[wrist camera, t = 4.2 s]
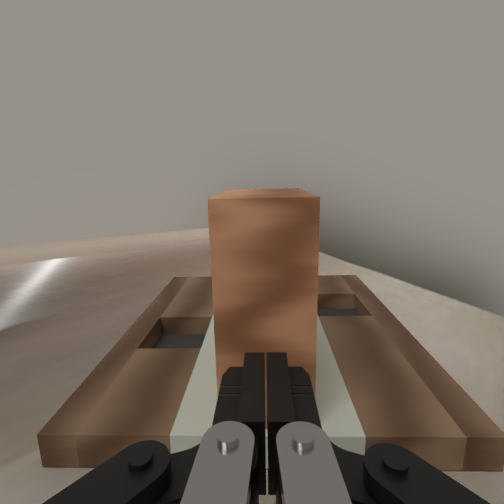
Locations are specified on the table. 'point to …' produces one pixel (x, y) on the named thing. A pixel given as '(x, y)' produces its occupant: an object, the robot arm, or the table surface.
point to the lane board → (326, 390)
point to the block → (264, 276)
